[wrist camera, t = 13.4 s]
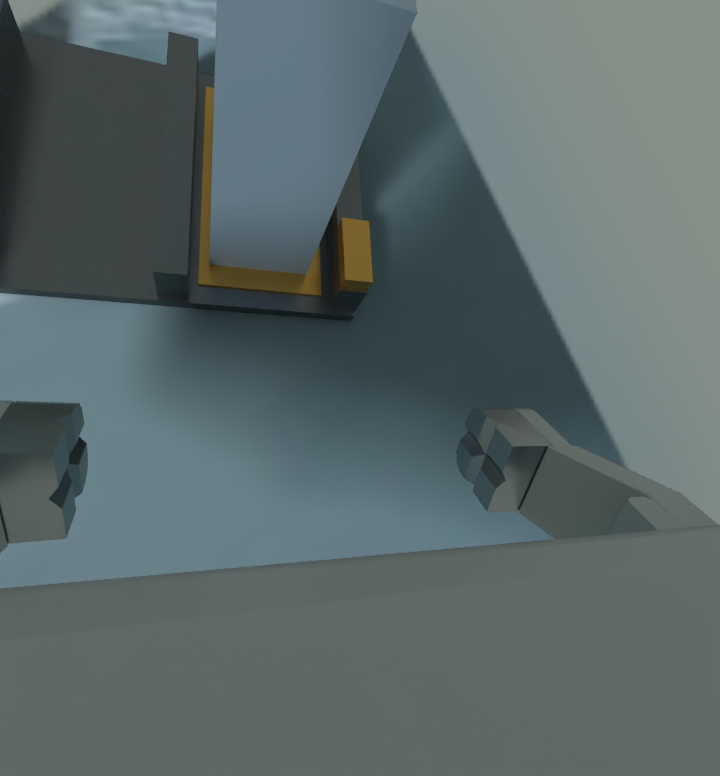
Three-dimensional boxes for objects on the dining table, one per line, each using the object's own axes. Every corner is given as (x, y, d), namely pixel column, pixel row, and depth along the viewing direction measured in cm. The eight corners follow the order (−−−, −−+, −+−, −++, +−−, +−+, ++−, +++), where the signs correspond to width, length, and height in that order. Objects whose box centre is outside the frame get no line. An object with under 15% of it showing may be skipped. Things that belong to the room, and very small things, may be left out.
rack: (351, 320, 18) (393, 263, 14) (-330, 266, 13) (-580, 146, 9) (340, 112, 21) (373, 15, 17) (-229, -13, 15) (-385, -208, 11)
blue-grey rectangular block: (306, 274, 18) (416, 13, 9) (208, 264, 17) (218, -48, 8) (302, 122, 20) (390, -227, 10) (214, 104, 19) (226, -304, 9)
